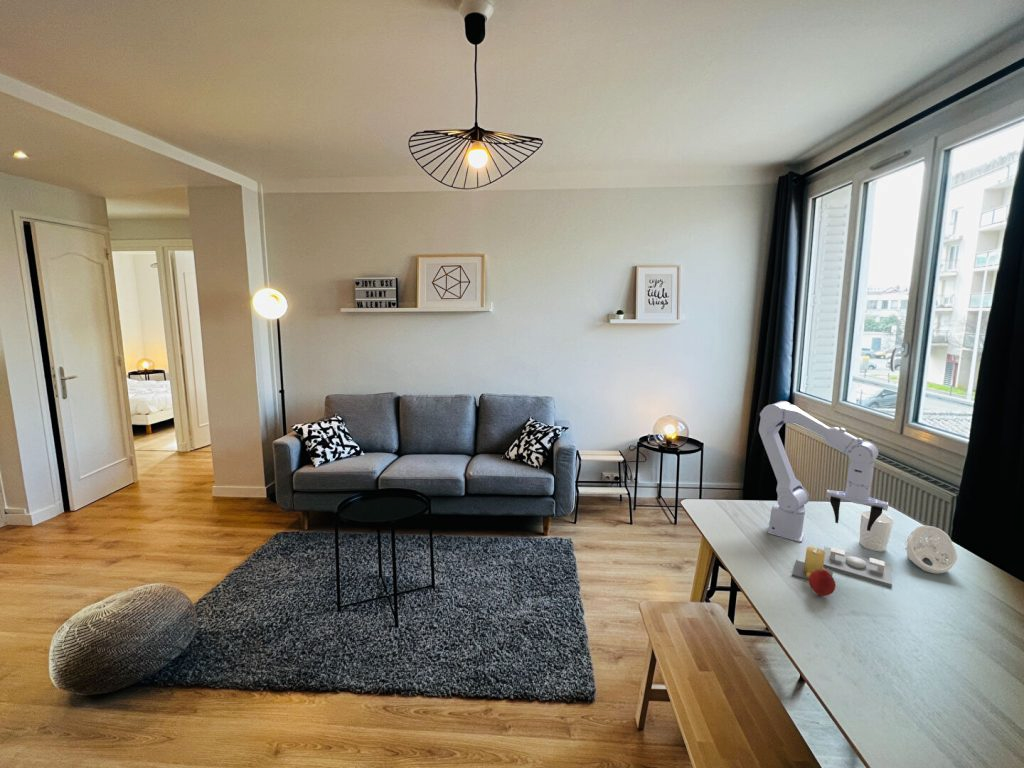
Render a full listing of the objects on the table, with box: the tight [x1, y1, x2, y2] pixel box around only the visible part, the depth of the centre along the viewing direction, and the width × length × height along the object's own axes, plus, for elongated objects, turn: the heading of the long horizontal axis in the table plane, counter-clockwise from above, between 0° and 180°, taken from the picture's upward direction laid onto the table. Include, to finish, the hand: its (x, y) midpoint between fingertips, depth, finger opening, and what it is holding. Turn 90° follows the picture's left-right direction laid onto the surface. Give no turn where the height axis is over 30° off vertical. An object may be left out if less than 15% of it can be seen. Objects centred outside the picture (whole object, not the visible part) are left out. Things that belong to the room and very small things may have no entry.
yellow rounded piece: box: [804, 546, 825, 577], centre depth 130 cm, size 8×4×7 cm, turn 136°
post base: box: [823, 546, 893, 588], centre depth 134 cm, size 16×12×4 cm
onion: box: [807, 567, 837, 597], centre depth 120 cm, size 6×6×8 cm
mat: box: [791, 559, 834, 582], centre depth 130 cm, size 9×9×1 cm
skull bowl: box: [904, 525, 958, 575], centre depth 136 cm, size 10×14×12 cm
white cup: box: [858, 510, 894, 552], centre depth 145 cm, size 8×8×10 cm
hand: (852, 525), depth 138 cm, fingers open, 7 cm apart
